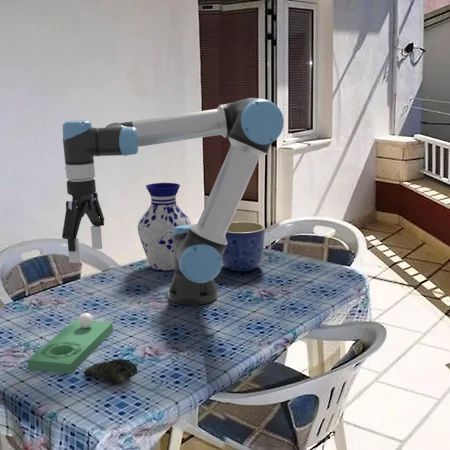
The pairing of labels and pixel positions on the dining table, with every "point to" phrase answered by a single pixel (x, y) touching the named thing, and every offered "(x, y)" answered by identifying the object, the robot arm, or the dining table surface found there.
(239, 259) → the planter
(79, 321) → the ball
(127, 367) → the stone
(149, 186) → the vase
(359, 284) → the dining table surface
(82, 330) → the green rectangular board
